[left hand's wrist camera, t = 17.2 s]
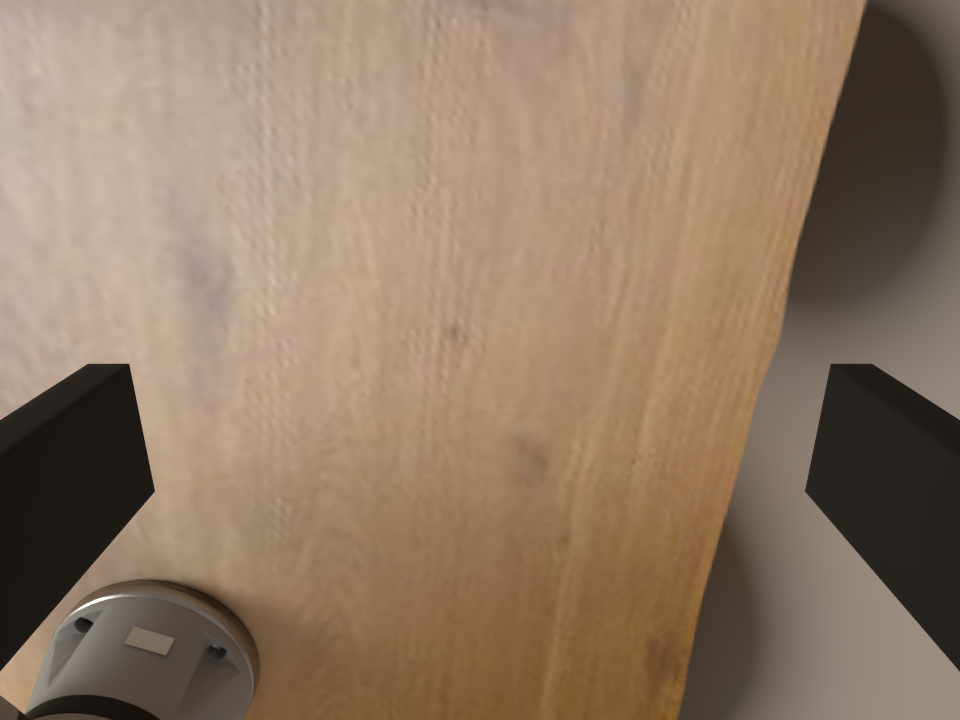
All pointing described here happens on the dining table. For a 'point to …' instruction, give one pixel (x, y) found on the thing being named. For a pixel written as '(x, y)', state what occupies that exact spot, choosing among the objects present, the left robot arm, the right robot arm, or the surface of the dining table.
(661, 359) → the dining table surface
